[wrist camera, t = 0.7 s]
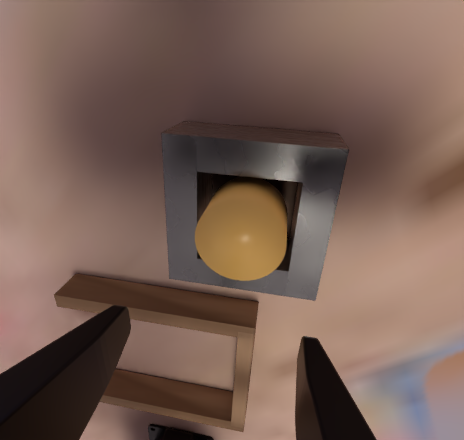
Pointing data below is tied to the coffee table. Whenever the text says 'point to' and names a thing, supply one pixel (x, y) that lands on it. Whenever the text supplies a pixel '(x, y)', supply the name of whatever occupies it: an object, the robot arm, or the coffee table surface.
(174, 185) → the button housing
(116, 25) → the coffee table surface
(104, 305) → the brown wooden u-shaped frame
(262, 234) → the button
